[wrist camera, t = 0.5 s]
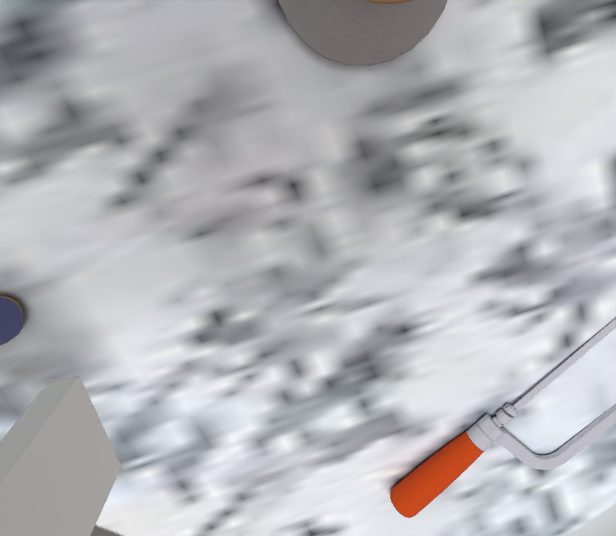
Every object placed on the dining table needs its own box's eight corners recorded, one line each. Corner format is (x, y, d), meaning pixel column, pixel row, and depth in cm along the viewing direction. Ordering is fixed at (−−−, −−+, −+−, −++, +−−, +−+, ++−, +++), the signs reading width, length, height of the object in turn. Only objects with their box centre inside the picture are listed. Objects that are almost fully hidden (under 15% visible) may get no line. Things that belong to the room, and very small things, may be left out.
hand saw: (677, 266, 40) (742, 338, 43) (651, 254, 43) (713, 322, 46) (390, 510, 48) (461, 560, 50) (384, 485, 51) (451, 534, 53)
